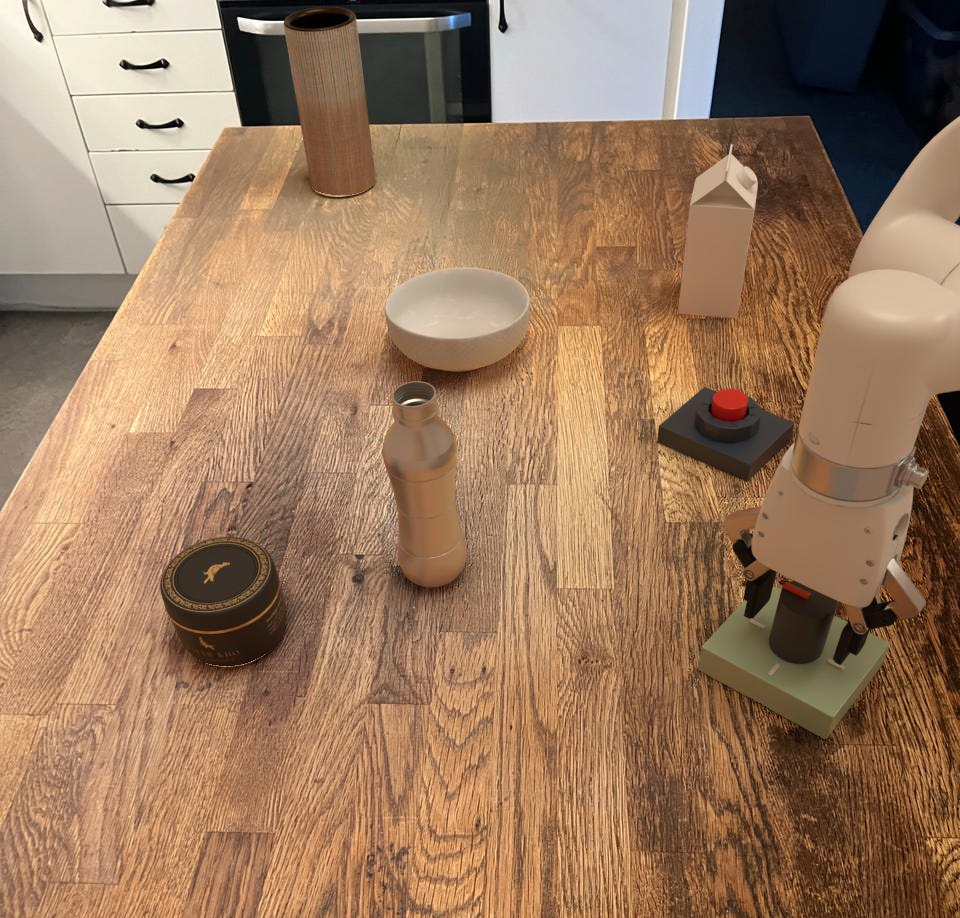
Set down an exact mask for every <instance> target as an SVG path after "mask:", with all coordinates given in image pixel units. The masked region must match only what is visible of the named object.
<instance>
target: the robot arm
mask: <svg viewBox="0 0 960 918" xmlns="http://www.w3.org/2000/svg"><path fill="white" fill-rule="evenodd" d="M959 217H960V115H959V116H957V118H955V119H954V120H952V121H951V122H950V123H949V124H948V125H946V126H945V127H943V128H942V130H940V131H939V132H938V133H936V135H934V136H933V137H932V139H930V141H928V143H926V145H925V146H924V147H923V148H922V149H921V150H920V151H919V153H918V154H917V155H916V156H915V157H914V159H913V160H912V161H911V163H910V164H909V166H908V167H907V168H906V170H905V171H904V173H903V174H902V176H900V179H899V180H898V182H897V183H896V185H895V186H894V187H893V189H892V191H891V192H890V194H889V195H888V197H887V198H886V199H885V201H884V202H883V204H882V206H881V207H880V209H879V210H878V211H877V213H876V215H875V216H874V218H873V219H872V220H871V222H870V224H869V225H868V227H867V229H866V231H865V233H864V235H863V236H862V238H861V240H860V242H859V244H858V246H857V248H856V250H855V253H854V255H853V257H852V261H851V262H850V267H849V269H848V270H849V271H848V276H847V279H845V280H844V281H843V282H841V283H840V284H839V285H838V286H837V287H836V288H835V290H834V291H833V292H832V294H831V296H830V298H829V300H828V302H827V305H826V308H825V312H824V315H823V318H822V319H823V320H822V324H821V328H820V333H819V336H818V340H817V345H816V350H815V354H814V358H813V362H812V368H811V371H810V375H809V379H808V383H807V389H806V393H805V397H804V402H803V406H802V411H801V413H800V414H801V415H800V419H799V423H798V428H797V432H796V436H795V440H794V442H793V443H792V444H791V445H790V446H789V448H788V450H786V451H785V452H784V454H783V456H782V457H781V460H780V462H779V464H778V466H777V468H776V469H775V472H774V474H773V477H772V479H771V480H770V484H769V485H768V487H767V490H766V493H765V495H764V498H763V500H762V504H761V505H760V506H755V507H750V508H745V509H740V510H735V511H731V512H730V513H729V514H728V515H727V516H726V517H725V518H724V519H723V520H722V521H721V525H722V527H723V529H724V532H725V533H726V535H727V537H728V539H729V541H730V542H732V548H731V549H732V552H733V553H734V555H736V557H737V559H738V560H739V562H740V564H741V565H742V567H743V570H742V575H743V578H744V579H746V583H745V589H744V592H743V601H744V600H746V601H747V604H746V608H745V613H744V616H745V617H746V618H748V619H751V618H752V619H753V618H754V617H755V616H756V615H757V614H758V613H759V611H760V610H761V609H762V608H763V607H764V606H765V605H766V604H767V603H768V601H769V600H770V597H771V593H772V589H773V586H774V585H775V581H776V576H777V573H778V574H780V575H782V576H784V577H785V578H787V579H790V580H791V581H793V580H794V581H796V582H798V583H801V584H803V585H805V586H807V587H809V588H811V589H813V590H815V591H817V592H819V593H822V594H824V595H826V596H828V597H830V598H833V599H835V600H837V601H838V603H842V604H844V605H843V606H844V608H845V610H846V614H847V616H848V621H847V622H848V623H847V624H846V625H845V627H844V628H843V630H842V632H841V635H840V638H839V641H838V644H837V647H836V650H835V653H834V656H833V660H834V662H835V663H837V664H839V665H841V664H842V663H843V661H844V660H845V659H846V658H847V656H848V655H849V654H850V653H852V654H854V655H856V656H857V655H858V653H859V652H860V651H861V649H862V648H863V646H864V644H865V642H866V639H867V636H868V634H869V633H870V631H871V630H875V629H880V628H887V627H890V626H893V625H894V624H895V623H897V622H902V621H905V620H909V619H911V618H914V617H918V616H919V615H920V613H921V612H922V611H923V609H924V608H925V607H926V605H927V601H926V599H925V598H924V596H923V595H922V593H921V592H920V591H919V590H918V588H917V586H916V585H915V584H914V583H913V582H912V580H911V579H910V577H909V576H908V574H906V572H905V571H904V570H903V568H902V567H901V565H900V560H901V558H902V553H903V551H904V546H905V543H906V538H907V534H908V529H909V527H910V526H909V524H910V520H911V515H912V508H913V501H914V500H913V499H914V488H915V489H918V490H920V489H921V488H922V487H923V486H924V484H925V482H926V481H927V478H928V477H929V474H930V470H929V469H926V468H923V467H922V466H920V463H917V462H916V456H915V454H916V451H917V446H916V445H915V444H916V441H917V438H918V435H919V433H920V429H921V426H922V424H923V421H924V417H925V414H926V412H927V409H928V406H929V403H930V401H931V399H932V398H933V397H934V396H936V395H940V394H944V393H951V392H958V391H960V225H959V224H957V223H956V222H957V221H958V219H959ZM752 529H754V530H753V533H751V530H752ZM882 585H883V587H884V589H886V591H887V592H888V594H889V595H890V596H891V597H892V599H893V600H888V601H884V602H882V601H881V598H880V597H881V596H880V594H879V591H880V589H881V587H882Z"/></svg>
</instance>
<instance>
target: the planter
mask: <svg viewBox="0 0 960 918" xmlns="http://www.w3.org/2000/svg"><path fill="white" fill-rule="evenodd" d="M283 29H284V36H285V42H286V48H287V53H288V59H289V65H290V70H291V77H292V83H293V89H294V93H295V100H296V104H297V105H296V106H297V111H298V119H299V123H300V129H301V135H302V141H303V147H304V153H305V159H306V164H307V171H308V177H309V182H310V185H311V188H312V187H313V189H314V190H316V191H318V192H321V193H325V194H331V195H352V194H357V193H360V192H363V191H366V190H368V189H369V188H371V187H372V186H373V187H374V185H375V184H376V182H377V181H376V169H375V168H376V167H375V161H374V152H373V144H372V137H371V127H370V120H369V111H368V105H367V95H366V87H365V79H364V71H363V63H362V62H363V61H362V54H361V47H360V38H359V30H358V21H357V16H356V13H354V12H353V10H351V9H349V8H345V7H339V6H317V7H310V8H305V9H301V10H298V11H295V12H293V13H290V14H289V15H288V16H287V17H285V19H284V20H283ZM373 187H372V188H373ZM372 188H371V189H372ZM313 189H312V190H313ZM314 190H313V191H314ZM369 190H370V189H369ZM369 190H368V191H369ZM366 192H367V191H366Z"/></svg>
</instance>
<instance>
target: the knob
mask: <svg viewBox="0 0 960 918" xmlns="http://www.w3.org/2000/svg"><path fill="white" fill-rule="evenodd" d="M838 605H839V601H837V600H835V599H833V598H830V597H828V596H826V595H824V594H822V593H819V592H817V591H815V590H813V589H811V588H809V587H807V586H805V585H803V584H801V583H798V582H796V581H794V580H791V581H789V582H788V581H786V582H785V583H784V585H783V586H782V588H781V593H780V597H779V601H778V605H777V609H776V613H775V617H774V621H773V625H772V629H771V633H770V637H769V645H770V648H771V650H772V651H773V652H774V654H776V655H777V656H778V657H779V658H781V659H782V660H785V661H787V662H790V663H795V664H806V663H810V662H813V661H815V660H816V659H818V658H819V657H820V656H821V654H822V652H823V649H824V646H825V643H826V640H827V637H828V634H829V630H830V627H831V624H832V621H833V618H834V616H836V615H835V614H836V611H837V609H838Z"/></svg>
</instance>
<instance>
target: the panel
mask: <svg viewBox="0 0 960 918" xmlns="http://www.w3.org/2000/svg"><path fill="white" fill-rule="evenodd" d="M781 590H782V588H781V589H780V588H778V587H777V586H774V585H773V589H772V593H771V597H770V600H769V601H768V603H767V604H766V605H765V606H764V607H763V608H762V609H761V610H760V611H759V613H758V614H757V615H756V616H755V617H754V618H753V619H752V618H751V619H748V618H746V617H745V616H744V613H745V608H746V604H747V601H746V600H744V599H743V601H742V602H741V603H740V604H739V605H738V606H737V607H736V609H734V611H733V612H732V613H731V614H730V615H728V618H727V619H726V620H725V621H723V623H721V625H720V626H719V627H718V628H717V629H716V630H715V632H713V633H712V635H710V637H709V638H708V639H707V640H706V641H705V642H704V643H703V645H702V646H701V647H700V654H699V658H698V664H697V671H699V672H701V673H702V674H705V675H706V676H709V678H712V679H713V680H715V681H718V682H719V683H720V684H723V685H725V686H726V685H727V686H726V687H728V688H730V689H732V690H733V691H735V692H737V691H738V692H737V693H739V692H740V693H739V694H741V695H743V696H745V695H746V696H747V697H746V696H745V697H746V698H748V697H749V698H748V699H750V698H751V699H750V700H752V699H753V700H752V701H754V702H756V701H757V702H758V703H757V702H756V703H757V704H759V703H761V704H762V705H761V704H760V705H761V706H762V707H765V706H766V707H767V709H768V708H769V709H768V710H771V711H772V712H773V713H776V714H777V715H779V716H781V717H783V718H785V719H787V720H788V721H790V722H791V723H793V724H795V725H798V727H801V728H803V729H804V730H806V731H808V732H810V733H812V734H814V735H816V736H817V737H819V736H820V737H819V738H821V739H823V740H825V739H826V740H827V739H828V738H829V736H830V735H831V734H832V732H833V731H834V730H835V728H836V727H837V726H838V725H839V723H840V722H841V721H842V719H843V718H844V716H845V715H846V714H847V713H848V711H849V710H850V709H851V707H852V706H854V705H853V704H854V703H855V702H856V701H857V700H858V698H859V697H860V696H861V694H862V693H863V692H864V690H865V689H866V687H867V686H868V685H869V683H870V682H871V681H872V680H873V678H875V676H876V675H877V673H878V672H879V670H880V669H881V668H882V667H883V664H884V661H885V659H886V656H887V654H888V652H889V648H890V647H891V642H890V641H887V640H886V639H883V638H882V637H880V636H877V635H875V634H874V633H871V632H869V634H868V636H867V639H866V642H865V644H864V646H863V648H862V649H861V651H860V652H859V653H858V655H857V656H856V655H854V654H852V653H850V654H849V655H848V656H847V658H846V659H845V660H844V661H843V663H842V664H841V665H839V664H837V663H835V662H834V660H833V656H834V653H835V650H836V647H837V644H838V641H839V638H840V635H841V632H842V630H843V628H844V627H845V625H846V624H847V623H848V622H849V621H848V620H845V619H842V618H840V617H838V616H836V615H834V618H833V621H832V624H831V627H830V630H829V634H828V637H827V640H826V643H825V646H824V649H823V652H822V654H821V656H820V657H819V658H818V659H816V660H815V661H813V662H810V663H806V664H795V663H790V662H787V661H785V660H782V659H781V658H779V657H778V656H777V655H776V654H774V652H773V651H772V650H771V648H770V645H769V637H770V633H771V629H772V625H773V621H774V617H775V613H776V609H777V605H778V601H779V597H780V593H781ZM766 707H765V708H766Z"/></svg>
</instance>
